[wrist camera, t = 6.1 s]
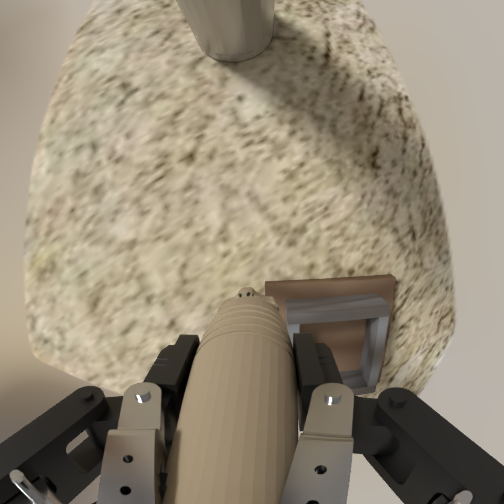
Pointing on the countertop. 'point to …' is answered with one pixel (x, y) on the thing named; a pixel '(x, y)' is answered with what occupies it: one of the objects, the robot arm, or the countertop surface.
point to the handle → (237, 410)
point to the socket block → (342, 321)
